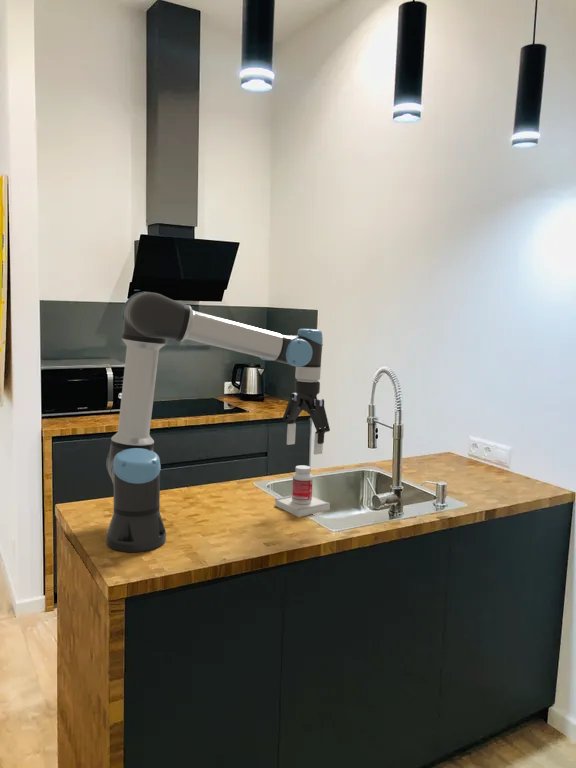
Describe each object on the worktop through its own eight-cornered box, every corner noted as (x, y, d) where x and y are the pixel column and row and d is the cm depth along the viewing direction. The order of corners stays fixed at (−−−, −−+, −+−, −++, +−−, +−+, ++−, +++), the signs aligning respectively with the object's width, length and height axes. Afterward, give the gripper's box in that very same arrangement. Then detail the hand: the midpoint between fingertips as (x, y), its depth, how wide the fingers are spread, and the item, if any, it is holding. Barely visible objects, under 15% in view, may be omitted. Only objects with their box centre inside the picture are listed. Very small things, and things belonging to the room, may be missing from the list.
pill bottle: (313, 504, 194) (314, 469, 193) (293, 505, 193) (294, 469, 192) (309, 498, 200) (311, 464, 199) (290, 498, 199) (291, 464, 198)
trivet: (298, 517, 189) (298, 509, 189) (275, 505, 198) (275, 498, 198) (329, 510, 196) (329, 503, 196) (305, 499, 206) (305, 492, 205)
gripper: (344, 385, 184) (339, 456, 187) (292, 374, 204) (289, 439, 207) (324, 386, 180) (320, 459, 182) (273, 375, 199) (270, 441, 202)
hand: (303, 449), depth 195 cm, fingers open, 13 cm apart
